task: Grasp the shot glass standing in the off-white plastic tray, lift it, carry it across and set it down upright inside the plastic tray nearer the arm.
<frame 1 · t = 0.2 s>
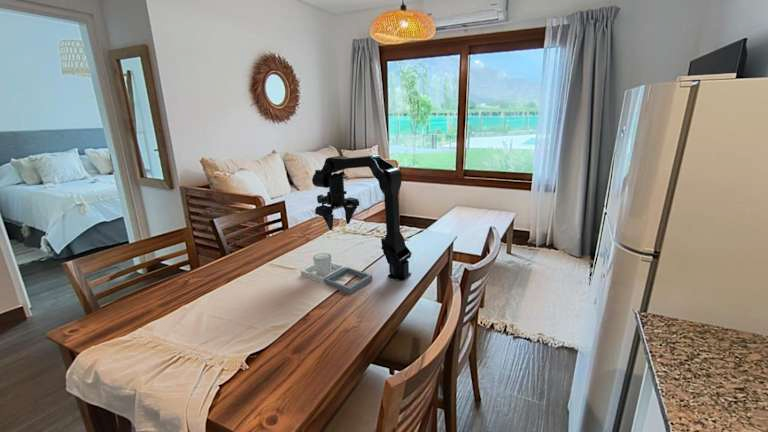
hand: (339, 226, 139), 14 cm above the table, tool pointing down, fingers open, 9 cm apart
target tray: (349, 282, 125), on the table
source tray: (323, 273, 132), on the table
shot glass: (323, 273, 133), resting in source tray
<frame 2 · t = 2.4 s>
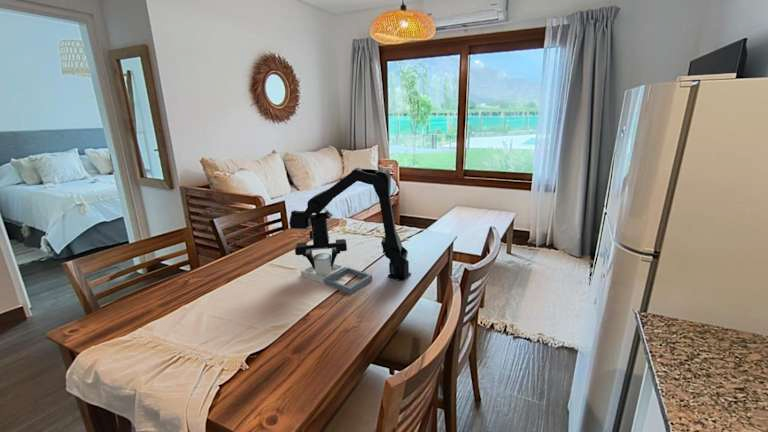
hand: (323, 267, 132), 2 cm above the table, tool pointing down, fingers closed on shot glass, 6 cm apart
shot glass: (323, 273, 132), resting in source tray, touching gripper
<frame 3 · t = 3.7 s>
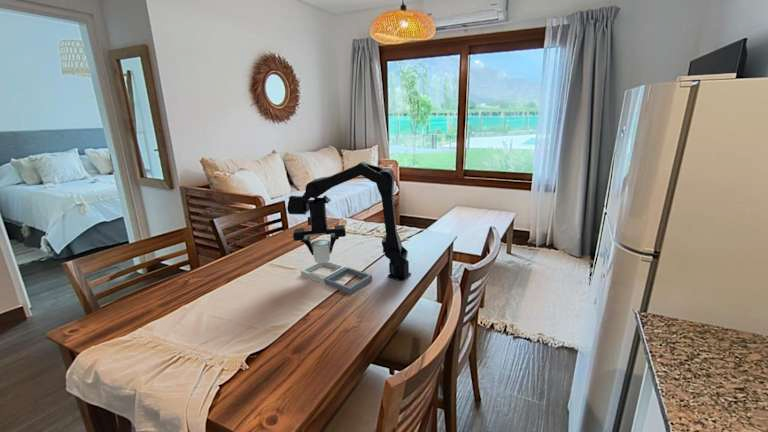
hand: (321, 254, 130), 8 cm above the table, tool pointing down, fingers closed on shot glass, 6 cm apart
shot glass: (322, 260, 131), point 5 cm above the table, touching gripper
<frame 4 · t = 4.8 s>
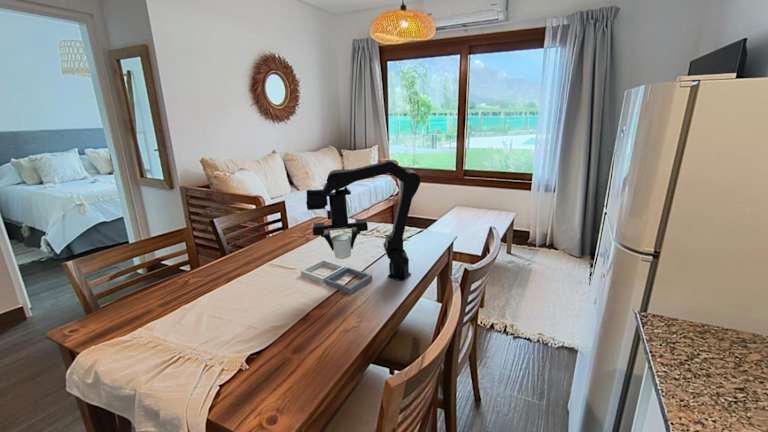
hand: (342, 249, 123), 12 cm above the table, tool pointing down, fingers closed on shot glass, 6 cm apart
shot glass: (343, 256, 124), point 10 cm above the table, touching gripper
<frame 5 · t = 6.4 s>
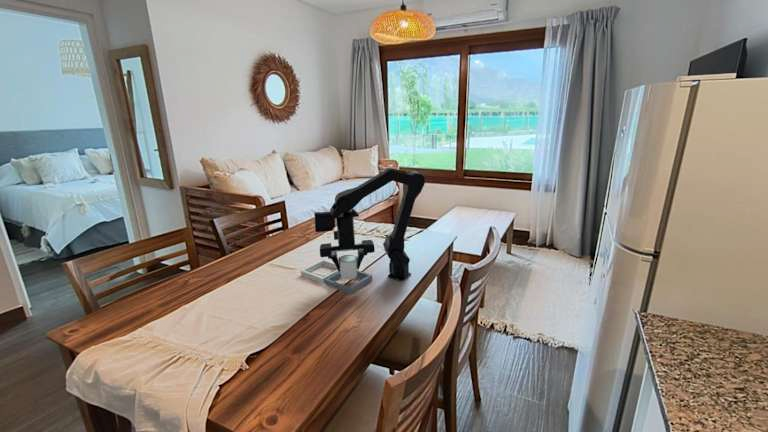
hand: (348, 270, 124), 5 cm above the table, tool pointing down, fingers closed on shot glass, 6 cm apart
shot glass: (349, 276, 124), point 2 cm above the table, touching gripper
when the fingers open (4 cm above the table, at t = 7.5 s): shot glass drops 1 cm, resting in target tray.
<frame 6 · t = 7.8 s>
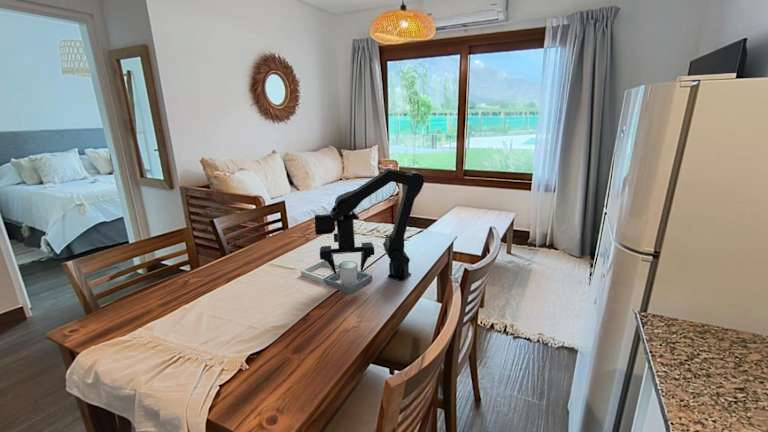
hand: (348, 272, 124), 4 cm above the table, tool pointing down, fingers open, 9 cm apart
shot glass: (349, 282, 125), resting in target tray
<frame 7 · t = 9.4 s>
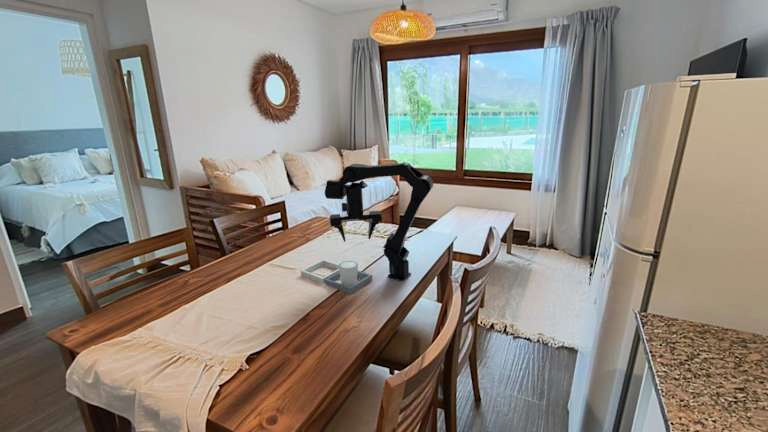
hand: (357, 240, 129), 13 cm above the table, tool pointing down, fingers open, 9 cm apart
nothing on the table moved.
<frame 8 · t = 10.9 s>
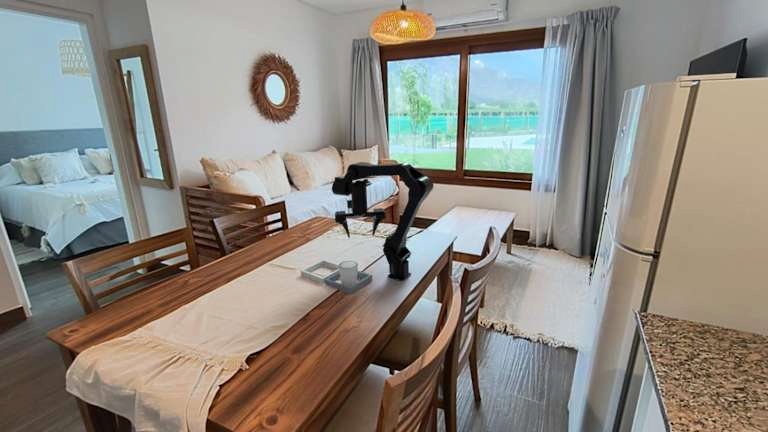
hand: (361, 236, 132), 13 cm above the table, tool pointing down, fingers open, 9 cm apart
nothing on the table moved.
at the end: shot glass inside the target area on the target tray (0.1 cm from its centre), point 0.0 cm above the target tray's base; shot glass tilted 0°; the gripper is holding nothing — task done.
